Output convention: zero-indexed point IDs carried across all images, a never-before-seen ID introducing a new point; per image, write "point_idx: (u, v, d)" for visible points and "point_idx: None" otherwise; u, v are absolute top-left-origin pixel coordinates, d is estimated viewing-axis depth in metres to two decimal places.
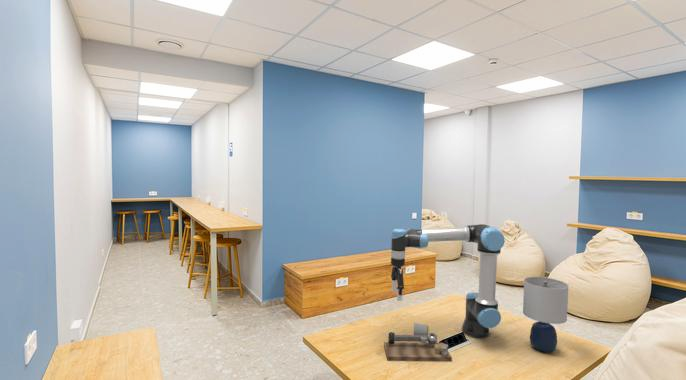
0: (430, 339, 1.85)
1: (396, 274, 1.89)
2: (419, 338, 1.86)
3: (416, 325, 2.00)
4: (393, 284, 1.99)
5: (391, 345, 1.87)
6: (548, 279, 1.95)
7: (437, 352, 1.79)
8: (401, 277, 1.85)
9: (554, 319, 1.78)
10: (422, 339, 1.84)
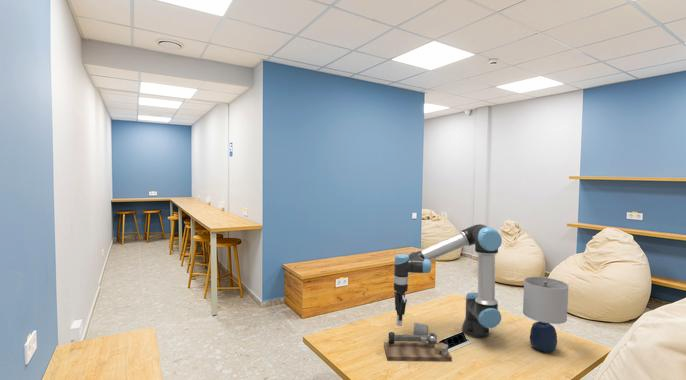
0: (430, 339, 1.85)
1: (399, 301, 1.91)
2: (419, 338, 1.86)
3: (416, 325, 2.00)
4: None
5: (391, 345, 1.87)
6: (548, 279, 1.95)
7: (437, 352, 1.79)
8: (404, 306, 1.88)
9: (554, 319, 1.78)
10: (422, 339, 1.84)
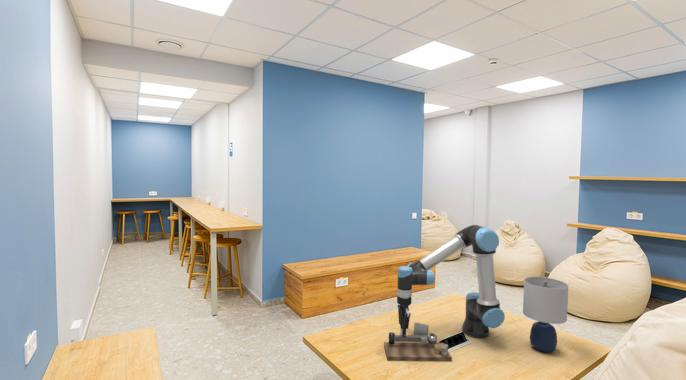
0: (430, 339, 1.85)
1: (402, 314, 1.86)
2: (419, 338, 1.85)
3: (416, 324, 2.01)
4: None
5: (391, 345, 1.87)
6: (548, 279, 1.95)
7: (437, 352, 1.79)
8: (407, 320, 1.83)
9: (554, 319, 1.78)
10: (422, 339, 1.84)
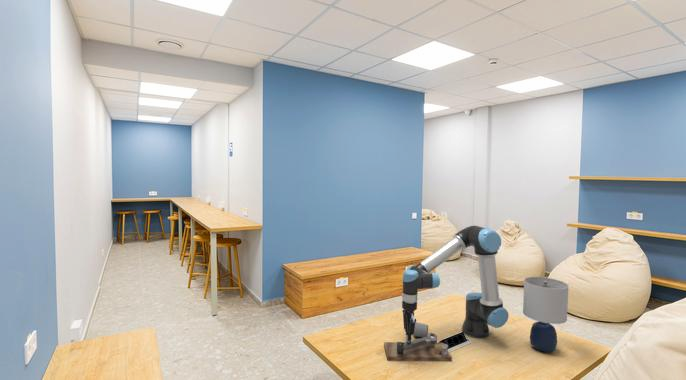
0: (432, 339, 1.84)
1: (407, 320, 1.79)
2: (423, 341, 1.82)
3: (416, 324, 2.01)
4: None
5: (391, 345, 1.87)
6: (548, 279, 1.95)
7: (437, 352, 1.79)
8: (413, 325, 1.76)
9: (554, 319, 1.78)
10: (427, 341, 1.81)
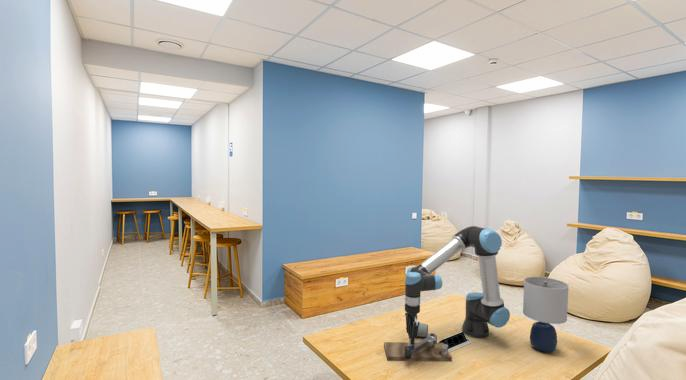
0: (433, 339, 1.84)
1: (410, 323, 1.75)
2: (426, 342, 1.81)
3: None
4: None
5: (391, 345, 1.87)
6: (548, 279, 1.95)
7: (437, 352, 1.79)
8: (416, 329, 1.73)
9: (554, 319, 1.78)
10: (430, 342, 1.81)
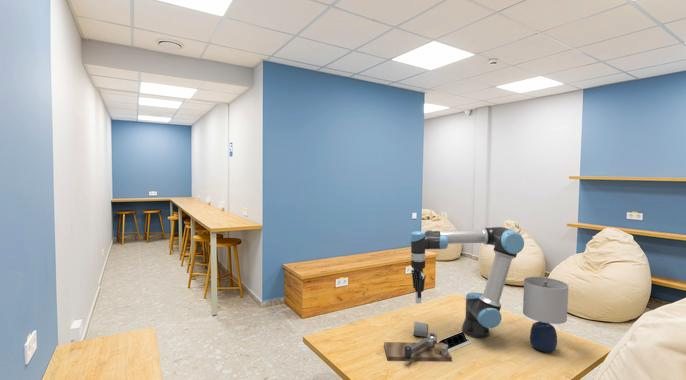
0: (433, 339, 1.84)
1: (417, 278, 1.90)
2: (426, 342, 1.81)
3: (416, 323, 2.02)
4: None
5: (391, 345, 1.87)
6: (548, 279, 1.95)
7: (437, 352, 1.79)
8: (422, 282, 1.88)
9: (554, 319, 1.78)
10: (430, 342, 1.81)
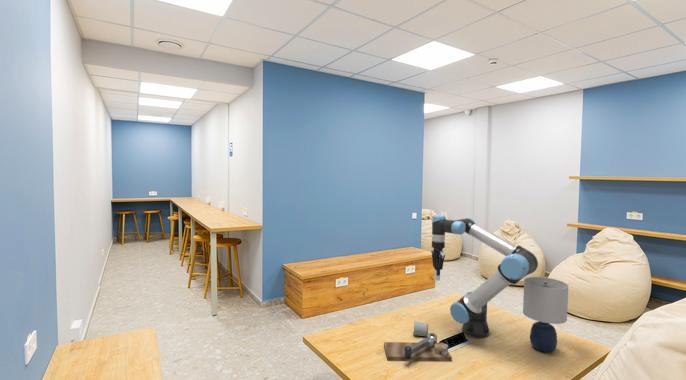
0: (433, 339, 1.84)
1: (437, 257, 2.09)
2: (426, 342, 1.81)
3: (416, 323, 2.02)
4: None
5: (391, 345, 1.87)
6: (548, 279, 1.95)
7: (437, 352, 1.79)
8: (442, 261, 2.06)
9: (554, 319, 1.78)
10: (430, 342, 1.81)
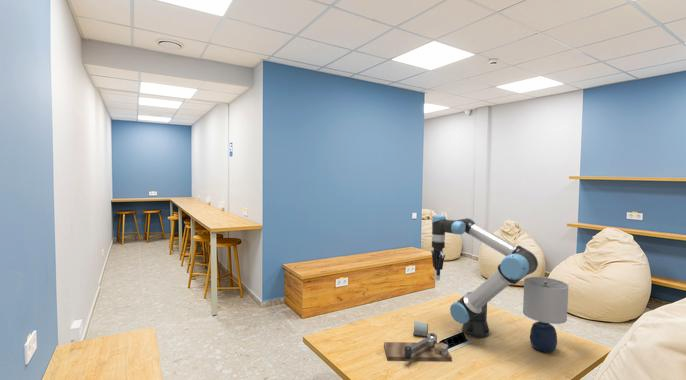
0: (433, 339, 1.84)
1: (437, 257, 2.09)
2: (426, 342, 1.81)
3: (416, 323, 2.03)
4: None
5: (391, 345, 1.87)
6: (548, 279, 1.95)
7: (437, 352, 1.79)
8: (442, 261, 2.06)
9: (554, 319, 1.78)
10: (430, 342, 1.81)
